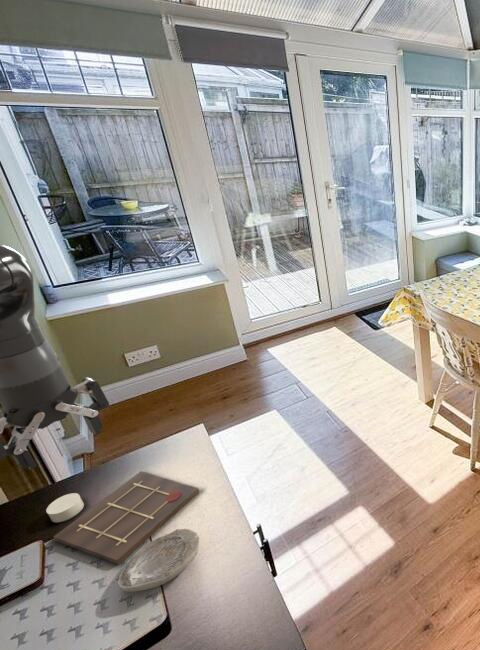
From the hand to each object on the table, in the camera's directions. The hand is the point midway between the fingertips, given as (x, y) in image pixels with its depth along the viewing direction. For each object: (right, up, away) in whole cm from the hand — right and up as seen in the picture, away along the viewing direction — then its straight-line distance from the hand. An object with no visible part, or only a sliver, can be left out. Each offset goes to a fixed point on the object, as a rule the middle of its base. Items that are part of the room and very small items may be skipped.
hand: (65, 448), depth 71 cm
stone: (-13, -18, +13) cm, 26 cm away
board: (0, -19, +12) cm, 22 cm away
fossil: (+14, -23, +4) cm, 27 cm away
